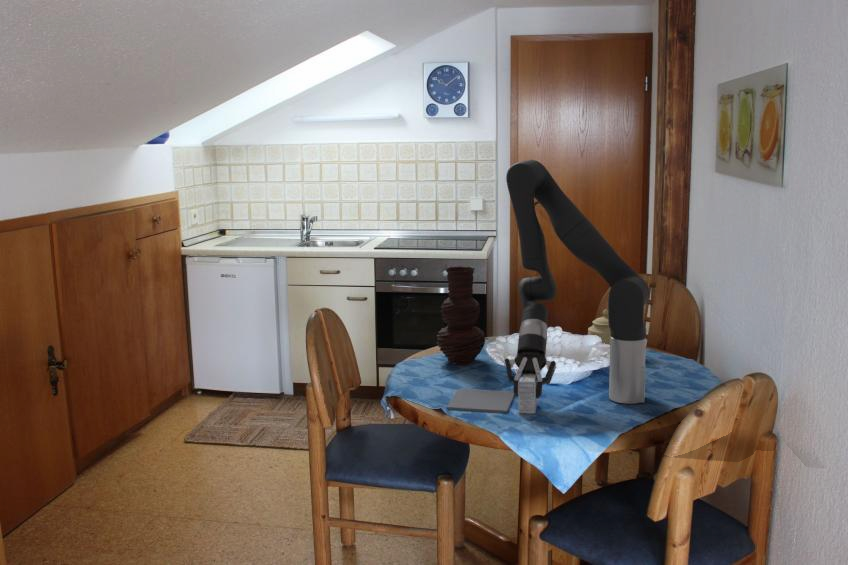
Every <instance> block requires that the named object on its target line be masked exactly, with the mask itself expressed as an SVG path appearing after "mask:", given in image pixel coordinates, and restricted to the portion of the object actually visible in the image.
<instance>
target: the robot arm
mask: <svg viewBox="0 0 848 565" xmlns="http://www.w3.org/2000/svg"><path fill="white" fill-rule="evenodd" d="M505 180H506V185H507V189H508V193H509V197H510V200H511V204H512V209H513V212H514V218H515V220H516V226H517V230H518V237H519V238H518V239H519V245H520V246H519V248H520V257H521V264H522V267H523V269H525V270H529V271H534V272H537V273H538V274H539V275H540V276H530V277H527V276H526V277H524V278H522V279H521V280H520V281H519V284H518V293H519V296H520V302H521V310H522V311H521V312H522V314H521V320H520V321H521V324H520V327H519V333H518V341H517V351H516V356H515V357H514V358H512V359H509V358H505V359H504V364H505V369H506V373H507V378H508V382H509V383H513V392H514V396H515V397H516V398H518V382H519V379H520V376H521V375H523V373H524V374H525V373H531V374H536V376H537V384H536V398H537V399H539V398H540V397H541V396H542V395H543V386H544V385H549V384H551V382H552V379H553V376H554V375H555V374H554V373H555V371H556V369H557V362H556V361H555V360H552V361H549V360H547V358H546V354H547V353H546V352H547V342H548V319H549V318H548V316H549V310H548V308H547V306H545V305H544V304H542V303H538V302H552V301H553V300H554V299H555V298H556V296H557V292H558V288H557V284H556V281H555V279H554V276H553V274H552V272H551V269H550V265H549V261H548V255H547V247H546V246H547V245H546V244H547V243H546V239H545V234H544V231H543V228H542V226H541V224H540V222H539V220H538V216H537V212H536V207H535V200H536V201H537V202H538V203H539V205H540V206H542V208H543V209H544V210H545V212H546V214H547V215H548V218H549V221H550V224H551V226H552V229H553V230H554V233H555V234H556V236H557V237H558V239H559V240H560V242H561V243H562V244H563V245H564V247H565V248H567V249H568V251H570V252H571V254H572V255H573V256H574V257H576V258H577V259H578V260H580V261H581V262H582V263H584V264H585V265H587V266H588V267H589V268H591V269H592V270H594V271H595V272H597V273H598V274H599V275H600V276H601V277H602V279H604V281H605V282H606V283H607V285H608V286H609V287H610V289H609V292H608V300H607V303H608V304H607V310H608V322H609V328H610V359H609V382H608V383H609V385H608V386H609V387H608V394H609V395H608V398H609V399H610V400H611V401H613V402H615V403H620V404H628V405H630V404H631V405H633V404H639V403H645V396H646V395H645V392H646V391H645V390H646V350H647V349H646V346H647V345H646V344H647V341H646V340H647V328H646V326H645V323H644V306H646V304H648V302H649V300H650V296H651V291H650V286H649V284H648V283H647V281H646V280H645V278H643V277H642V276H641V275H640V274H638V272H636V271H635V270H634V269H633V268H632V267H631V266H630V265H629V264H627V263H626V261H624V259H622V257H620V255H619V254H618V253H617V252H616V250H615V249H614V248H613V247H612V246H611V244H610V243H609V242H608V241H607V240H606V239H605V237H604V236H603V235H602V234H601V233H600V231H599V230H598V229H597V227H595V225H594V224H593V223H592V222H591V221H590V220H589V219H588V217H586V216H585V214H584V213H582V211H581V210H580V209H579V208H578V207H577V206H576V204H575V203H574V202H573V201H572V200H571V199H570V197H568V196H567V195H566V193H565V192H564V191H563V190H562V189H561V187H560V186H559V185H558V183H557V182H556V180H555V179H554V177H553V176H552V175H551V173H550V172H549V171H548V169H547V168H546V167H545V165H544V164H542V163H541V162H540V161H538V160H535V159H527V160H521V161H518V162H515V163H514V164H512V165H510V167H509V168H508V170H507V172H506V177H505ZM515 365H516V366H517V367H518V369H517V370H516V371H517V372H516V374H515V375H513V373H512V369H513V368H514V366H515ZM545 367H546V368H547V369H546V370H547V371H546V374H545V376H544V377H542V374H541V371H542V370H543V369H544V368H545Z"/></svg>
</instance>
